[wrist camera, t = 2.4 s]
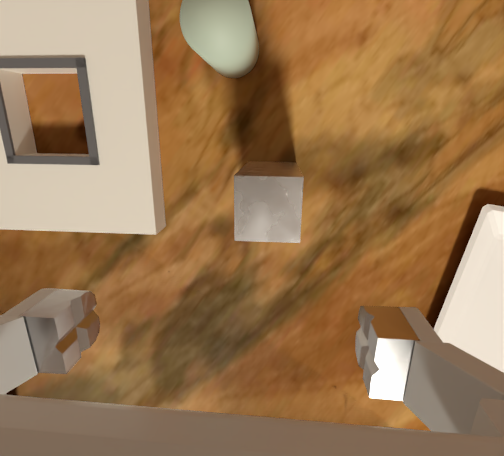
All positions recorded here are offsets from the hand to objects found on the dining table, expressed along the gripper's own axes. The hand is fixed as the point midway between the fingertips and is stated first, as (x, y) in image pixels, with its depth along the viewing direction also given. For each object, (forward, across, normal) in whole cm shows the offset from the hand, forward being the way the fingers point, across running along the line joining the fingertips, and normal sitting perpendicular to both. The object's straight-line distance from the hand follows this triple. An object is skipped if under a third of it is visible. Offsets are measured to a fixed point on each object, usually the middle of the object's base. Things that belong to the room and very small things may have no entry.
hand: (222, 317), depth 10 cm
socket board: (+25, +21, -7) cm, 34 cm away
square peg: (+26, 0, 0) cm, 26 cm away
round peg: (+26, +3, -12) cm, 29 cm away
